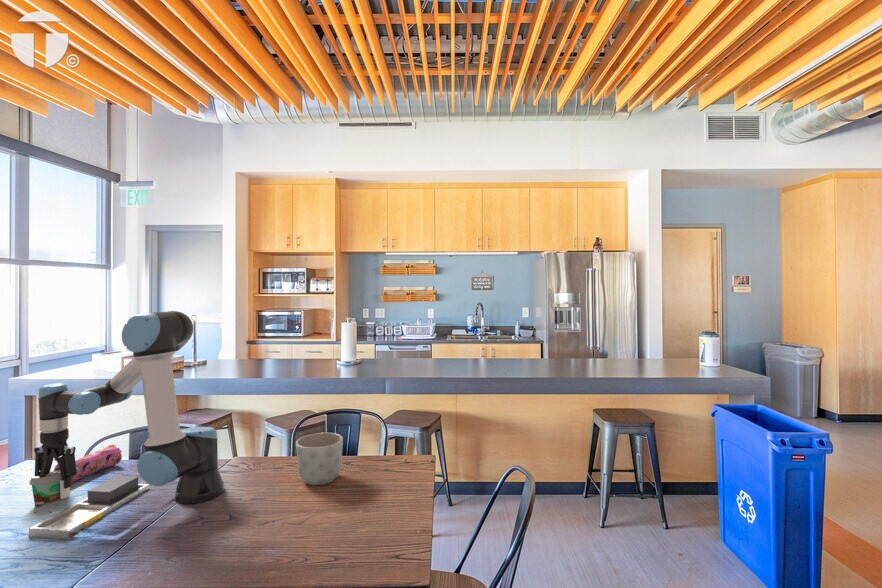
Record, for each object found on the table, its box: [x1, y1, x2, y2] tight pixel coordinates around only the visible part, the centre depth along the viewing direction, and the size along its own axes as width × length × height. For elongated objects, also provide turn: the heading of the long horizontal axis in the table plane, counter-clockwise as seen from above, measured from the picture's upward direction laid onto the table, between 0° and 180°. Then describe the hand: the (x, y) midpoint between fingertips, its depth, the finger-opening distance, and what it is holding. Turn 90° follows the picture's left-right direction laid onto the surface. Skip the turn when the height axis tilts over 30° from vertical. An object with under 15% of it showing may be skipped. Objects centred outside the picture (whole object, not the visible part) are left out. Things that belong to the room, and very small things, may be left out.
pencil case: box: [52, 444, 123, 484], centre depth 179 cm, size 21×9×9 cm, turn 163°
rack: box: [28, 483, 150, 540], centre depth 149 cm, size 14×31×3 cm, turn 173°
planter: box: [295, 432, 344, 486], centre depth 171 cm, size 17×17×15 cm
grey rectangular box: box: [87, 475, 139, 504], centre depth 157 cm, size 8×12×5 cm, turn 173°
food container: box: [29, 470, 67, 508], centre depth 157 cm, size 12×6×10 cm, turn 169°
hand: (56, 496), depth 158 cm, fingers closed on food container, 6 cm apart
